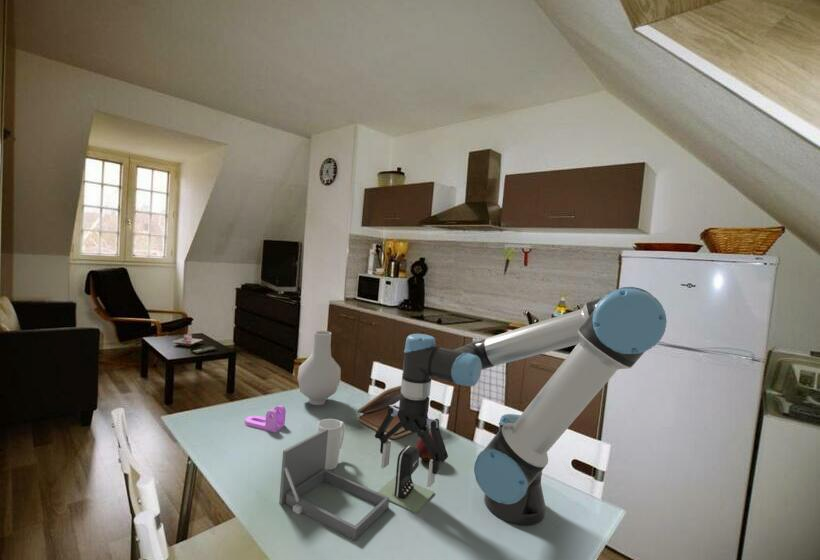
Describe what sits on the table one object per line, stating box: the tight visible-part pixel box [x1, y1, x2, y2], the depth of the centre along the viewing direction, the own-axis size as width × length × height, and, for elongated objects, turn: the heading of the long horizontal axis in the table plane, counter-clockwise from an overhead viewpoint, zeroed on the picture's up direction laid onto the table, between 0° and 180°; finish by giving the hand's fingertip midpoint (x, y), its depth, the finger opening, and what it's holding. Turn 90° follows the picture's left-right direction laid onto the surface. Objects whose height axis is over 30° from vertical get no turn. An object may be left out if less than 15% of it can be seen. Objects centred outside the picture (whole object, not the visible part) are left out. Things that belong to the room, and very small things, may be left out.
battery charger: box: [395, 445, 420, 498], centre depth 103 cm, size 7×4×11 cm, turn 156°
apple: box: [415, 433, 434, 462], centre depth 121 cm, size 7×8×8 cm
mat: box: [377, 475, 435, 514], centre depth 103 cm, size 12×10×1 cm
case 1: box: [278, 429, 390, 541], centre depth 96 cm, size 22×15×13 cm
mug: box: [316, 418, 346, 471], centre depth 114 cm, size 10×7×12 cm, turn 149°
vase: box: [297, 330, 342, 406], centre depth 157 cm, size 17×16×28 cm
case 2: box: [356, 385, 429, 440], centre depth 145 cm, size 20×21×16 cm
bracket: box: [244, 404, 287, 433], centre depth 134 cm, size 13×6×7 cm, turn 74°
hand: (407, 475), depth 103 cm, fingers open, 13 cm apart
